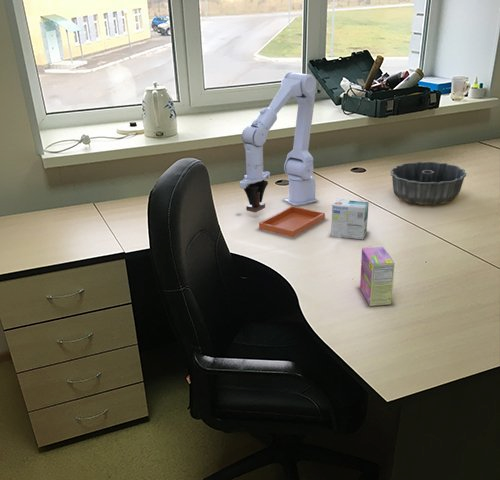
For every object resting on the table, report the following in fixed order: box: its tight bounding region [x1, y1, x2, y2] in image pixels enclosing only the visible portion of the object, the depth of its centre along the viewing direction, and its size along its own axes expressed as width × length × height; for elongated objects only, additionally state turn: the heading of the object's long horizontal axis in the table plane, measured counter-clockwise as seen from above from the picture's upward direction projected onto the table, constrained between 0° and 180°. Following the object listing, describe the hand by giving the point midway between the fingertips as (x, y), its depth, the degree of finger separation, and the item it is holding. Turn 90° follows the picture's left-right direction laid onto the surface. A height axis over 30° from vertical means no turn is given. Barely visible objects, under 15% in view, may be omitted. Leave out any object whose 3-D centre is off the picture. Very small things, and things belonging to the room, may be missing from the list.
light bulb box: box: [330, 198, 370, 240], centre depth 187 cm, size 11×7×11 cm, turn 71°
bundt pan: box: [390, 161, 467, 206], centre depth 214 cm, size 26×26×10 cm
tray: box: [258, 205, 326, 238], centre depth 198 cm, size 20×14×2 cm
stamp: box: [245, 190, 266, 214], centre depth 202 cm, size 6×4×6 cm
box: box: [359, 246, 396, 307], centre depth 150 cm, size 10×6×12 cm, turn 5°
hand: (255, 203), depth 203 cm, fingers closed on stamp, 3 cm apart
